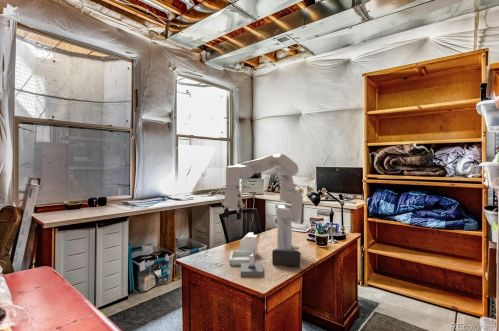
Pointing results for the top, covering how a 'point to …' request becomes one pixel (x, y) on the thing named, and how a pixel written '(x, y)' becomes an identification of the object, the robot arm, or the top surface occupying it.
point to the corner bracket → (249, 243)
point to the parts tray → (240, 257)
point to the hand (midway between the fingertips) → (232, 218)
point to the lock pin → (251, 261)
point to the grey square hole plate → (251, 270)
